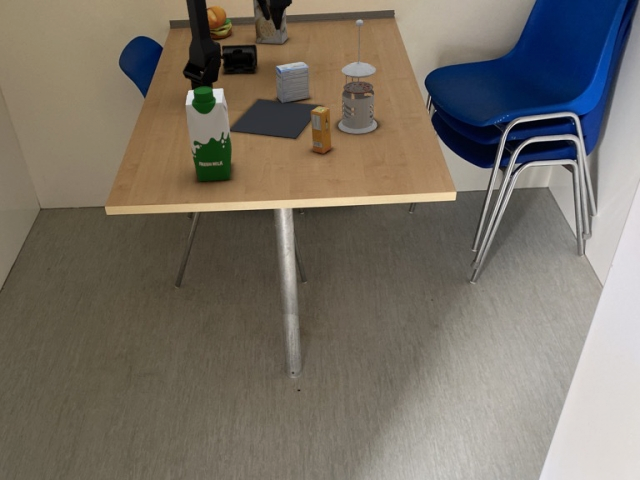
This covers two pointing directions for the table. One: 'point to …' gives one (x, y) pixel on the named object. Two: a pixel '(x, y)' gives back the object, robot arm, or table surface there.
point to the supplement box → (321, 129)
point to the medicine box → (292, 82)
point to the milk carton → (209, 133)
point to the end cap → (239, 59)
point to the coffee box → (268, 28)
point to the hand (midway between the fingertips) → (272, 24)
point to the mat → (275, 118)
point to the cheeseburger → (218, 22)
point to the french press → (358, 97)
